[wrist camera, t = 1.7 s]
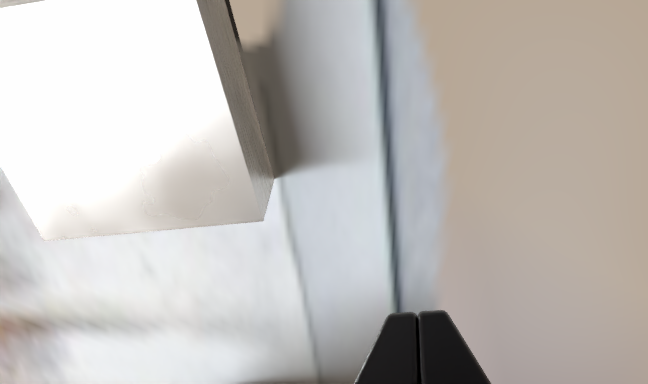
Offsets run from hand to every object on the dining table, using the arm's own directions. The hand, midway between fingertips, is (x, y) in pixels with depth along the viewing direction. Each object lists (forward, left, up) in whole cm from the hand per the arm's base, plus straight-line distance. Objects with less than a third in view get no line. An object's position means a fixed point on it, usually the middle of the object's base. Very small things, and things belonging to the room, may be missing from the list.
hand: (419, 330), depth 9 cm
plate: (0, +8, -10) cm, 13 cm away
